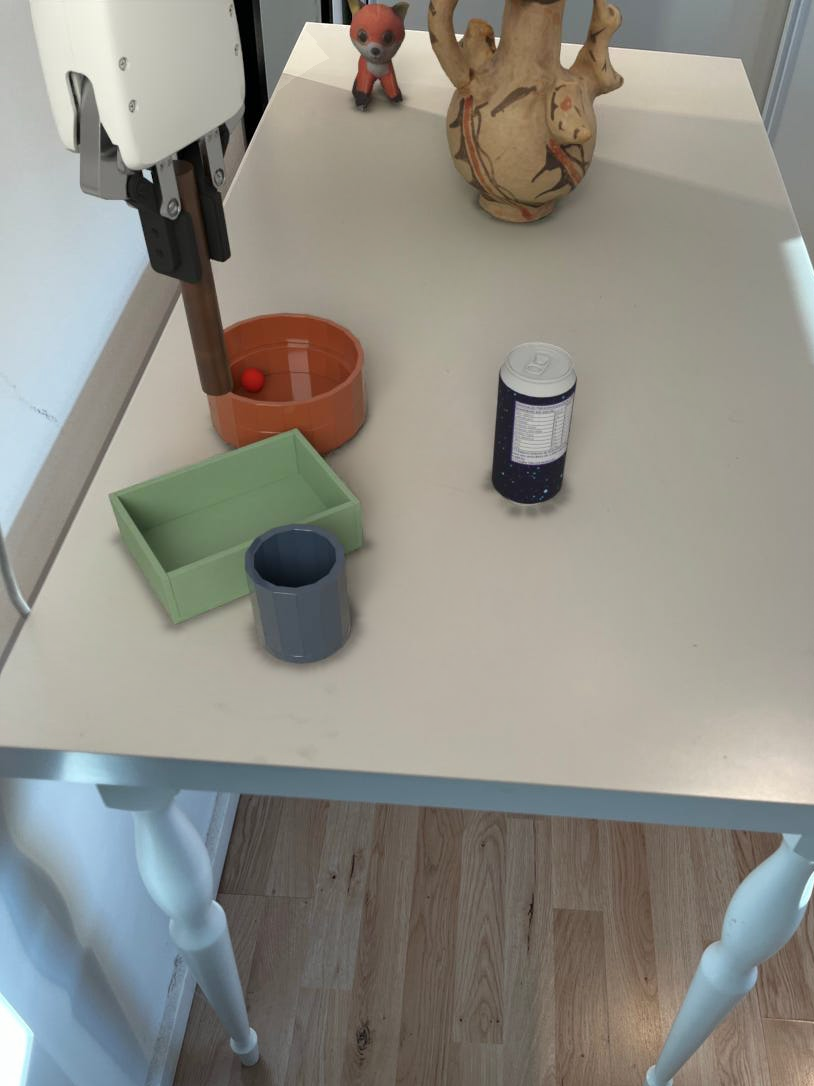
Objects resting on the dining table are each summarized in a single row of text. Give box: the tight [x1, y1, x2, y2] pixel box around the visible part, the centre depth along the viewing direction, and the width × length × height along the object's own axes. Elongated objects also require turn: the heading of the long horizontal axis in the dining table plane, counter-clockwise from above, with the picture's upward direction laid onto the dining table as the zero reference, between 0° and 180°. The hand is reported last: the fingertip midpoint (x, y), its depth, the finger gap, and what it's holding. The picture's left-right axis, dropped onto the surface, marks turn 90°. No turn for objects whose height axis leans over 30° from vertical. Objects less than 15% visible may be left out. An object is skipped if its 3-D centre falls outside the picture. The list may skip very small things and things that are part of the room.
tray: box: [107, 428, 364, 625], centre depth 72 cm, size 15×10×4 cm, turn 124°
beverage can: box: [491, 341, 578, 507], centre depth 74 cm, size 6×6×12 cm
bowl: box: [206, 312, 368, 457], centre depth 81 cm, size 13×13×6 cm
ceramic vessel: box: [427, 0, 625, 224], centre depth 101 cm, size 18×19×25 cm
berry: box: [241, 368, 265, 392], centre depth 84 cm, size 2×2×2 cm
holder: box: [245, 523, 352, 664], centre depth 66 cm, size 6×6×7 cm
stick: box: [172, 160, 233, 396], centre depth 58 cm, size 2×2×14 cm
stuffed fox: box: [347, 0, 410, 112], centre depth 123 cm, size 8×11×12 cm
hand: (191, 263), depth 56 cm, fingers closed on stick, 2 cm apart
